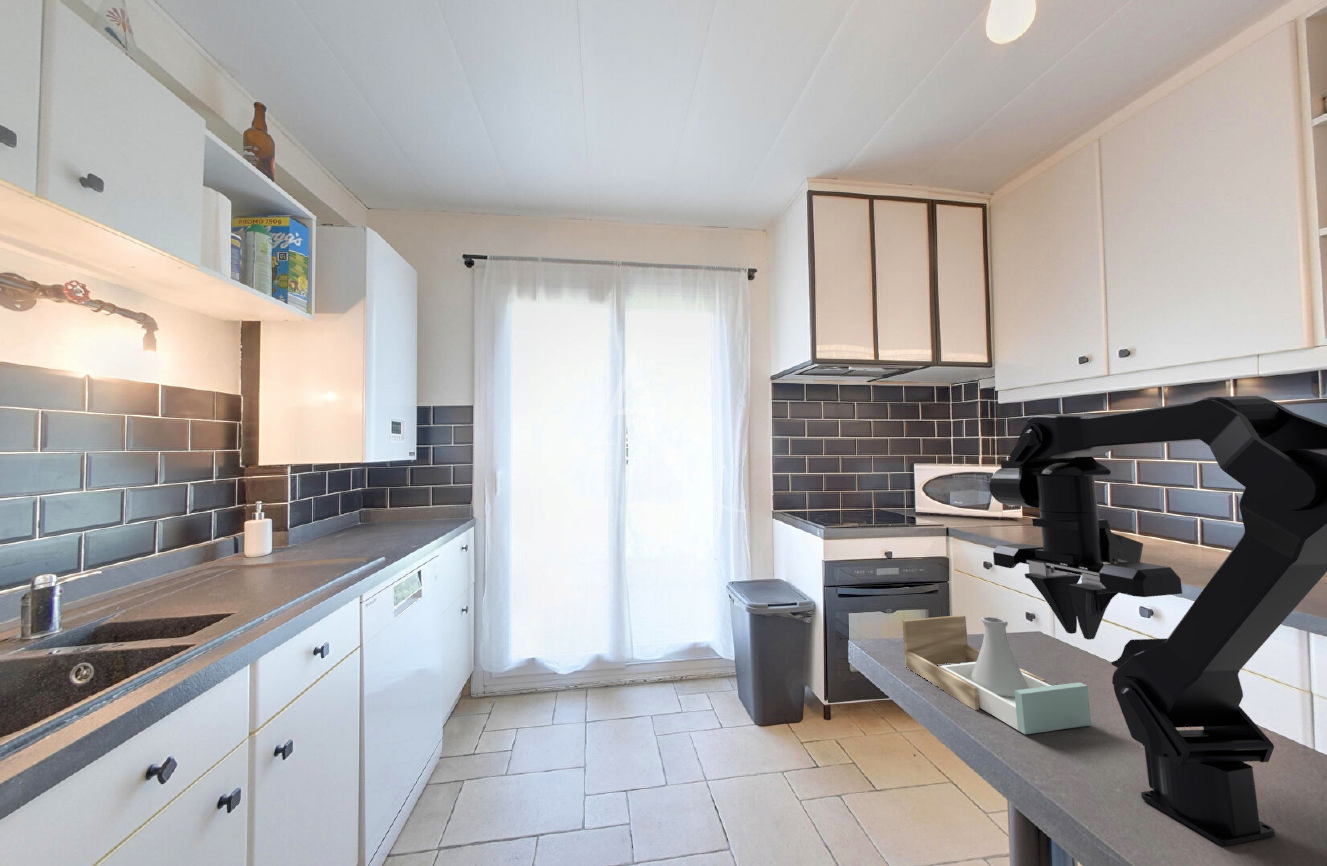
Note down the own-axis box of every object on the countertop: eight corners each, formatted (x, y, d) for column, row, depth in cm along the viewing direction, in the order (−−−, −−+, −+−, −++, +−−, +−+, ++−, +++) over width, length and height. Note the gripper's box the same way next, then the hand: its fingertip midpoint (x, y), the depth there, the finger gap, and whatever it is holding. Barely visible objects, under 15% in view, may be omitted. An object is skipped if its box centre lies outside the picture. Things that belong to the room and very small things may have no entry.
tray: (1091, 725, 62) (1087, 685, 62) (1024, 734, 60) (1021, 694, 60) (995, 677, 76) (993, 645, 76) (940, 684, 74) (937, 651, 75)
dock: (1047, 701, 68) (1041, 644, 69) (975, 710, 66) (970, 652, 67) (966, 661, 83) (962, 614, 84) (905, 667, 81) (902, 620, 82)
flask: (991, 699, 67) (985, 628, 68) (961, 677, 74) (956, 612, 75) (1043, 699, 67) (1036, 627, 67) (1007, 676, 74) (1002, 611, 75)
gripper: (1213, 514, 52) (1231, 658, 51) (1050, 503, 71) (1060, 609, 69) (1131, 519, 50) (1148, 669, 49) (985, 507, 69) (995, 615, 67)
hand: (1080, 636), depth 59 cm, fingers closed
